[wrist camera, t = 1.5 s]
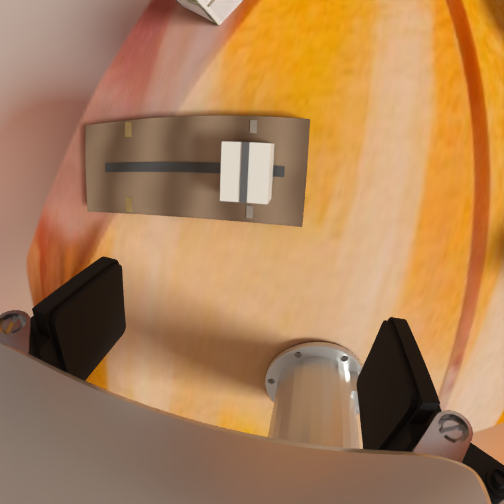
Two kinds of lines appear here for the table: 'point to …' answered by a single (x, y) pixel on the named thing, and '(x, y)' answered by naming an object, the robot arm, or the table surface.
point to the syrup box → (211, 8)
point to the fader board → (192, 167)
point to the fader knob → (246, 172)
